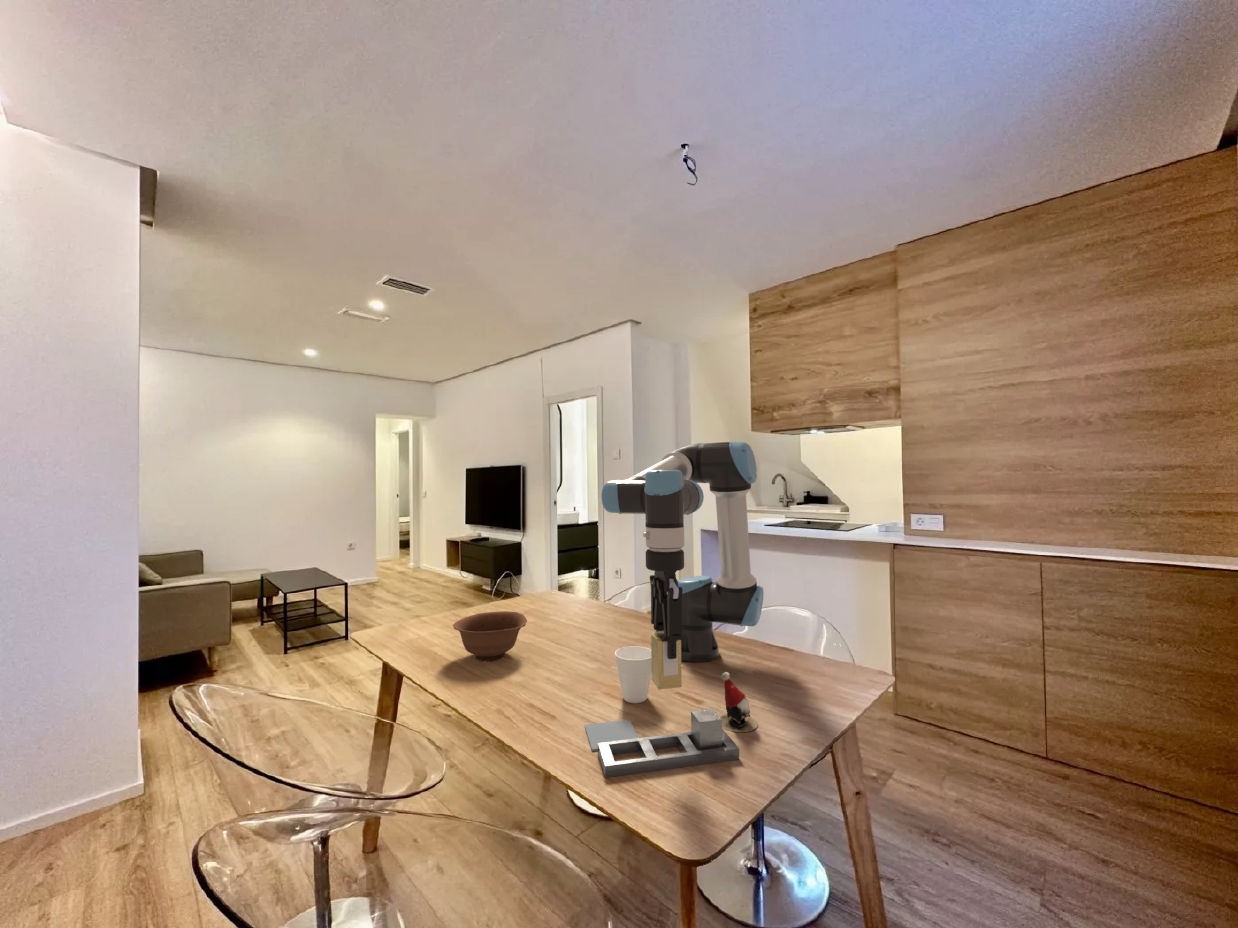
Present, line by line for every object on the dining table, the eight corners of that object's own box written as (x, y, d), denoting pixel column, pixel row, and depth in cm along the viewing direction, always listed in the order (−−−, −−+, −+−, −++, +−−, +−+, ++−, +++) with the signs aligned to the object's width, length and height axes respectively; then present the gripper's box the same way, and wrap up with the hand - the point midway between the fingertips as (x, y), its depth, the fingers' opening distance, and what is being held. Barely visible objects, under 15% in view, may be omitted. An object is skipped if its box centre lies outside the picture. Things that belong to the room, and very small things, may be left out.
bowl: (542, 652, 153) (541, 616, 153) (488, 676, 134) (488, 635, 135) (492, 640, 165) (492, 607, 165) (436, 660, 146) (436, 623, 146)
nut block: (673, 677, 98) (673, 632, 98) (681, 687, 93) (681, 639, 94) (651, 679, 97) (651, 633, 97) (658, 689, 92) (657, 641, 93)
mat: (629, 721, 108) (629, 719, 108) (641, 745, 98) (641, 743, 98) (584, 726, 106) (584, 724, 106) (591, 751, 96) (591, 749, 96)
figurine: (776, 709, 105) (736, 679, 103) (752, 750, 103) (710, 720, 101) (756, 694, 113) (718, 665, 111) (732, 732, 111) (694, 703, 109)
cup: (659, 692, 123) (659, 648, 123) (649, 710, 114) (648, 662, 114) (622, 687, 126) (622, 644, 127) (609, 704, 117) (608, 657, 117)
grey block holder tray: (722, 737, 101) (721, 727, 101) (739, 759, 93) (739, 748, 93) (597, 753, 96) (597, 742, 96) (605, 777, 88) (605, 766, 88)
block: (713, 743, 99) (712, 708, 99) (722, 756, 94) (722, 719, 95) (691, 746, 98) (691, 711, 98) (700, 759, 93) (699, 721, 94)
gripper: (635, 543, 104) (636, 655, 103) (659, 556, 86) (661, 689, 86) (668, 542, 105) (670, 652, 105) (699, 554, 88) (701, 685, 87)
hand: (666, 668), depth 95 cm, fingers closed on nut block, 5 cm apart
